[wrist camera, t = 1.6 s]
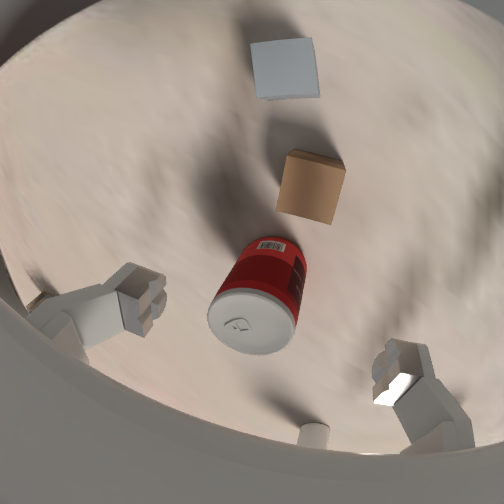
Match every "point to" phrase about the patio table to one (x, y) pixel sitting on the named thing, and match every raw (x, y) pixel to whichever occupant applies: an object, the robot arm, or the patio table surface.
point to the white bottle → (314, 436)
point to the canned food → (260, 298)
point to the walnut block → (311, 186)
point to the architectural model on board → (38, 301)
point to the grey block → (285, 69)
